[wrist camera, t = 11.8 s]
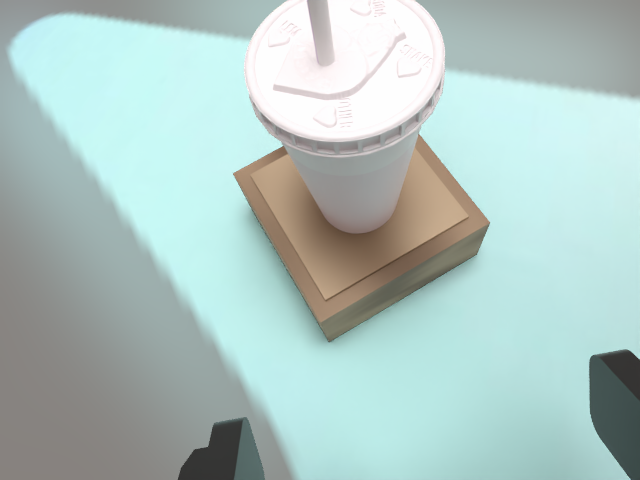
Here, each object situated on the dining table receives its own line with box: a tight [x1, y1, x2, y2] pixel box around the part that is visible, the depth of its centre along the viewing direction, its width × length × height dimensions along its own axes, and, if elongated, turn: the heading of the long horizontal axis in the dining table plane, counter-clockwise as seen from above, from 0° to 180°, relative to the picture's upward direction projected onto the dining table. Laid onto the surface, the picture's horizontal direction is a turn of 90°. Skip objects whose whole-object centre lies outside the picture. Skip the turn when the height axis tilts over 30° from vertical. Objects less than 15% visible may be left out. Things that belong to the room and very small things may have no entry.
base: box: [233, 134, 490, 342], centre depth 27 cm, size 9×9×4 cm
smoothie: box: [244, 0, 445, 234], centre depth 19 cm, size 6×6×14 cm
